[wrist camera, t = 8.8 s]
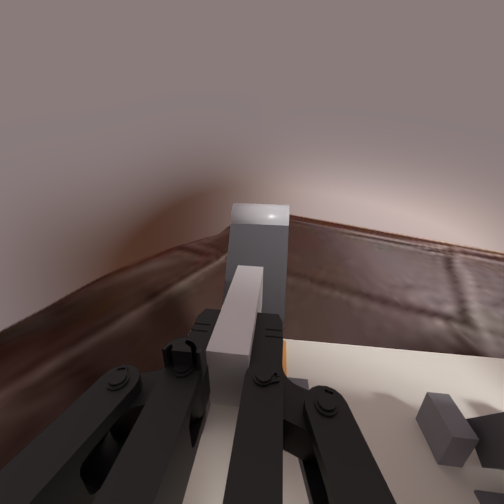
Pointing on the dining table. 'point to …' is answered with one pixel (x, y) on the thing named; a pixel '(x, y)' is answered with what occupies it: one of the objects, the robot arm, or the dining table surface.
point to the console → (382, 422)
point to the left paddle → (261, 250)
